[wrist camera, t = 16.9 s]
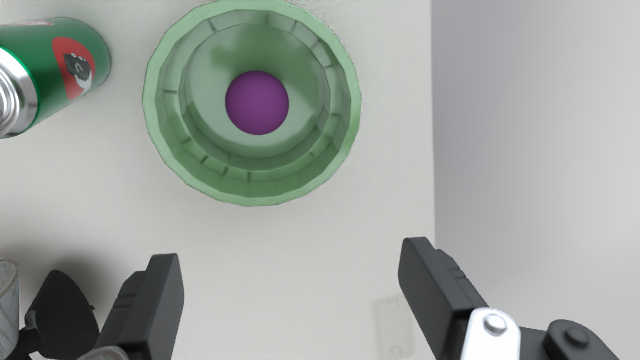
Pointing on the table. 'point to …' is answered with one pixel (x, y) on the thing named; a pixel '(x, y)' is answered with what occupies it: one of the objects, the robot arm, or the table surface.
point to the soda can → (46, 69)
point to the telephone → (45, 318)
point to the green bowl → (210, 89)
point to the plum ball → (256, 102)
